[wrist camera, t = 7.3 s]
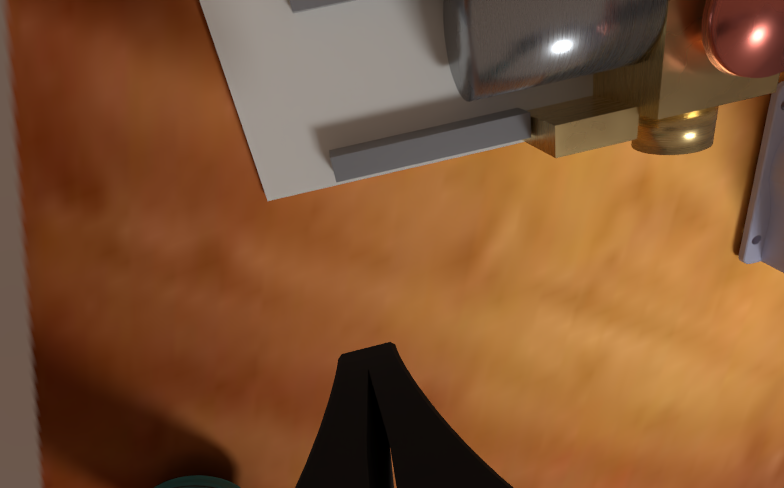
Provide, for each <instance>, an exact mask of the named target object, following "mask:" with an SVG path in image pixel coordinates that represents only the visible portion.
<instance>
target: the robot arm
mask: <svg viewBox="0 0 784 488" xmlns="http://www.w3.org/2000/svg"><path fill="white" fill-rule="evenodd" d="M783 101H784V81H782V82H780V83H779V84H778V85H777V90H776V92H775V93H772V94H771V99H770V104H769V108H768V113H767V118H766V123H765V128H764V133H763V138H762V143H761V148H760V153H759V158H758V163H757V167H756V172H755V177H754V182H753V187H752V192H751V197H750V202H749V207H748V212H747V217H746V222H745V227H744V231H743V236H742V241H741V246H740V251H739V260H740V261H742V262H744V263H746V264H751V263H755V262H759V261H762V262H764V263H766V264H768V265H770V266H771V267H773V268H775V269H777V270H779V271H781V272H783V273H784V102H783ZM782 102H783V104H782ZM781 104H782V106H781ZM390 448H391V452H390ZM391 454H392V461H393V467H394V473H395V479H396V486H397V488H513V487H512V486H511V485H510V484H509V483H507V482H506V481H505V480H504V479H503V478H501V477H500V476H499V475H498V474H497V473H496V472H495V471H494V470H493V469H492V468H491V467H490V466H489V465H487V464H486V463H485V462H484V461H483V460H482V459H481V458H480V457H479V456H478V455H477V454H476V453H475V452H474V451H473V450H472V449H471V448H470V447H469V446H468V445H467V444H466V443H465V442H464V441H463V440H462V439H461V438H460V436H459V435H458V434H457V433H456V432H455V431H454V430H453V429H452V428H451V426H450V425H449V424H448V423H447V422H446V421H445V420H444V418H443V417H442V416H441V415H440V414H439V412H438V411H437V410H436V409H435V407H434V406H433V405H432V404H431V402H430V401H429V400H428V398H427V397H426V396H425V394H424V393H423V392H422V390H421V389H420V388H419V386H418V385H417V384H416V382H415V381H414V379H413V378H412V376H411V374H410V373H409V371H408V370H407V368H406V366H405V365H404V363H403V361H402V359H401V357H400V355H399V353H398V351H397V348H396V345H395V344H393V343H391V342H388V343H384V344H380V345H376V346H372V347H368V348H364V349H360V350H356V351H353V352H349V353H345V354H342V355H341V356H340V357H339V359H338V365H337V370H336V375H335V379H334V383H333V387H332V391H331V394H330V398H329V401H328V404H327V407H326V410H325V414H324V417H323V420H322V423H321V426H320V429H319V431H318V434H317V437H316V439H315V442H314V444H313V447H312V449H311V452H310V454H309V457H308V460H307V462H306V465H305V467H304V469H303V471H302V474H301V476H300V478H299V480H298V483H297V485H296V487H295V488H394V483H393V473H392V462H391Z"/></svg>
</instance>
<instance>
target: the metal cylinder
mask: <svg viewBox="0 0 784 488" xmlns="http://www.w3.org/2000/svg"><path fill="white" fill-rule="evenodd" d="M667 3H668V0H444V2H443V25H444V37H445V45H446V51H447V57H448V62H449V66H450V70H451V74H452V77H453V80H454V83H455V85H456V87H457V90H458V92H459V93H460V95H461V96H462V98H463V99H464V100H466V101H468V102H470V101H474V100H479V99H483V98H487V97H492V96H496V95H501V94H505V93H510V92H514V91H519V90H523V89H527V88H532V87H536V86H541V85H545V84H550V83H554V82H558V81H563V80H567V79H572V78H576V77H581V76H585V75H590V74H594V73H598V72H603V71H607V70H612V69H616V68H621V67H625V66H629V65H633V64H636V63H638V62H639V61H641V60H642V59H643V58H644V57H645V56H646V55H647V54H648V53H649V52H650V51H651V49H652V48H653V46H654V45H655V43H656V41H657V39H658V37H659V35H660V32H661V30H662V27H663V23H664V20H665V15H666V10H667Z"/></svg>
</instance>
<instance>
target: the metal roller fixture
mask: <svg viewBox="0 0 784 488" xmlns="http://www.w3.org/2000/svg"><path fill="white" fill-rule="evenodd" d="M199 1H200V4H201V7H202V10H203V13H204V15H205V18H206V21H207V24H208V27H209V30H210V33H211V36H212V39H213V42H214V45H215V48H216V51H217V54H218V57H219V59H220V62H221V65H222V68H223V71H224V74H225V77H226V80H227V83H228V86H229V89H230V92H231V95H232V98H233V101H234V103H235V106H236V109H237V112H238V115H239V118H240V121H241V124H242V127H243V130H244V133H245V136H246V139H247V142H248V145H249V147H250V150H251V153H252V156H253V159H254V162H255V165H256V168H257V171H258V174H259V177H260V180H261V183H262V186H263V189H264V191H265V194H266V197H267V200H268V201H270V200H274V199H279V198H283V197H287V196H292V195H296V194H300V193H305V192H309V191H313V190H318V189H322V188H326V187H331V186H335V185H339V184H344V183H348V182H352V181H357V180H361V179H365V178H370V177H374V176H378V175H383V174H387V173H391V172H396V171H400V170H404V169H409V168H413V167H417V166H422V165H426V164H430V163H435V162H439V161H443V160H448V159H452V158H456V157H461V156H465V155H469V154H474V153H478V152H482V151H487V150H491V149H495V148H500V147H504V146H508V145H512V144H517V143H521V142H524V141H523V139H527V138H531V117H530V112H528V111H527V110H531V109H535V108H540V107H544V106H549V105H553V104H557V103H562V102H566V101H571V100H575V99H579V98H584V97H588V96H593V74H590V75H585V76H581V77H576V78H572V79H567V80H563V81H558V82H554V83H550V84H545V85H541V86H536V87H532V88H527V89H523V90H519V91H514V92H510V93H505V94H501V95H496V96H492V97H487V98H483V99H479V100H474V101H470V102H468V101H466V100H464V99H463V98H462V96H461V95H460V93H459V92H458V90H457V87H456V85H455V83H454V80H453V77H452V74H451V70H450V66H449V62H448V57H447V51H446V45H445V37H444V25H443V2H444V0H199Z"/></svg>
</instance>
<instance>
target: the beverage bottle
mask: <svg viewBox="0 0 784 488" xmlns="http://www.w3.org/2000/svg"><path fill="white" fill-rule="evenodd" d="M154 488H240V487H239V486H237V485H236V484H234V483H232V482H230V481H227V480H224V479H221V478H217V477H212V476H201V475H195V476H184V477H179V478H175V479H172V480H169V481H166V482H164V483H161V484H159V485H157V486H156V487H154Z"/></svg>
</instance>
